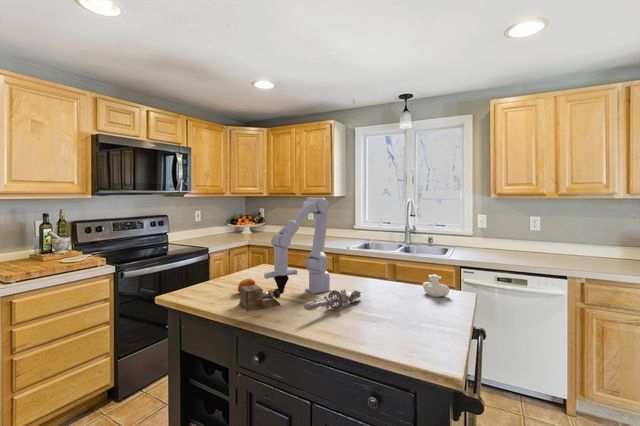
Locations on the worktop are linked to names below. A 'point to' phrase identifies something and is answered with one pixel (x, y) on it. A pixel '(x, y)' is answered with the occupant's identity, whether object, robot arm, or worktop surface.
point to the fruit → (246, 283)
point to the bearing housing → (255, 298)
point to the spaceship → (334, 300)
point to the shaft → (272, 294)
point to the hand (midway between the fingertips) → (281, 292)
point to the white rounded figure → (435, 287)
